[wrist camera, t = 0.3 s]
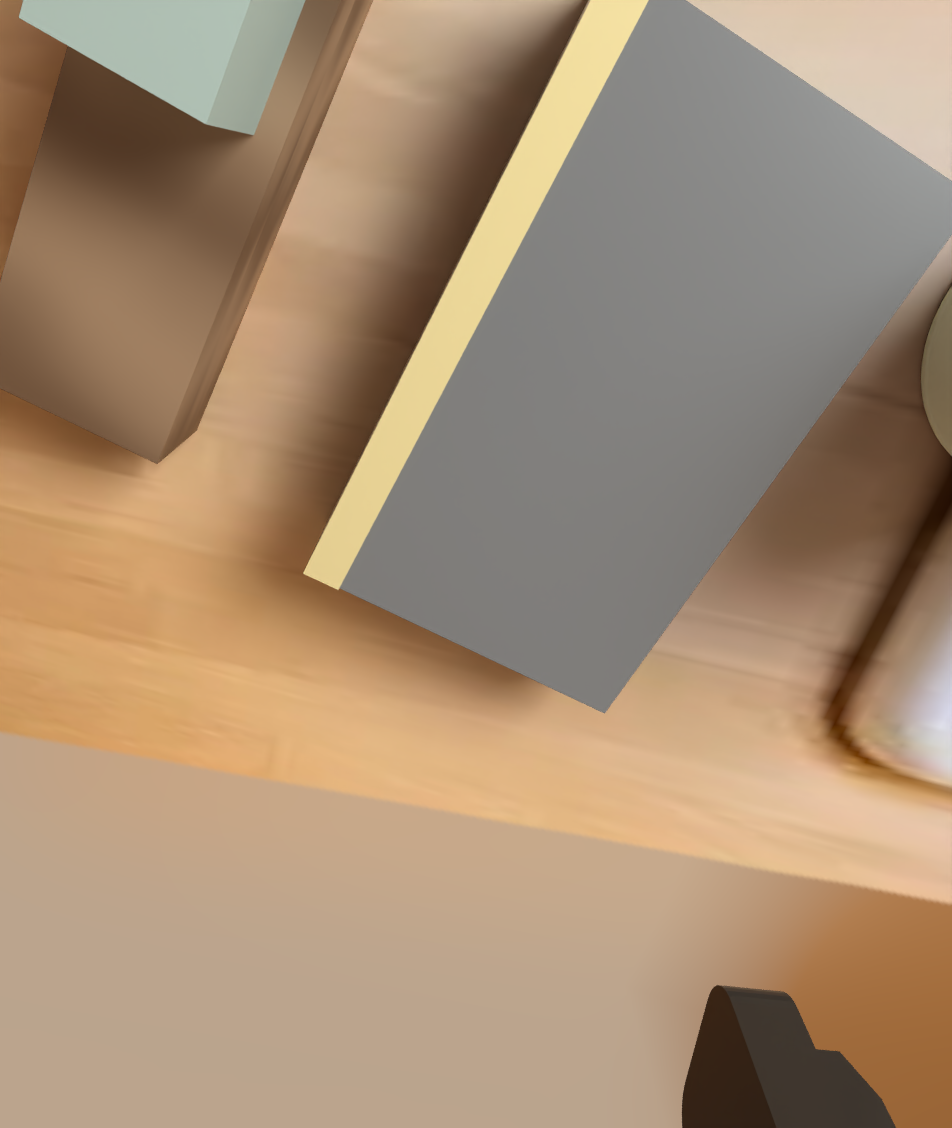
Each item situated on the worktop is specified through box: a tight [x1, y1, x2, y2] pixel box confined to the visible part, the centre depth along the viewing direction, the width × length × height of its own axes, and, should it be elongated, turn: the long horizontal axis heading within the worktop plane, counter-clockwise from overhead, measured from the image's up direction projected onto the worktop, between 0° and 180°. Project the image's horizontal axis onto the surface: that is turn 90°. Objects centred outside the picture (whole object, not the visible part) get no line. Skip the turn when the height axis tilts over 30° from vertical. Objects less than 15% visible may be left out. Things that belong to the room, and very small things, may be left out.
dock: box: [303, 0, 952, 713], centre depth 25 cm, size 18×11×4 cm, turn 152°
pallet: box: [0, 0, 373, 464], centre depth 23 cm, size 16×6×4 cm, turn 152°
